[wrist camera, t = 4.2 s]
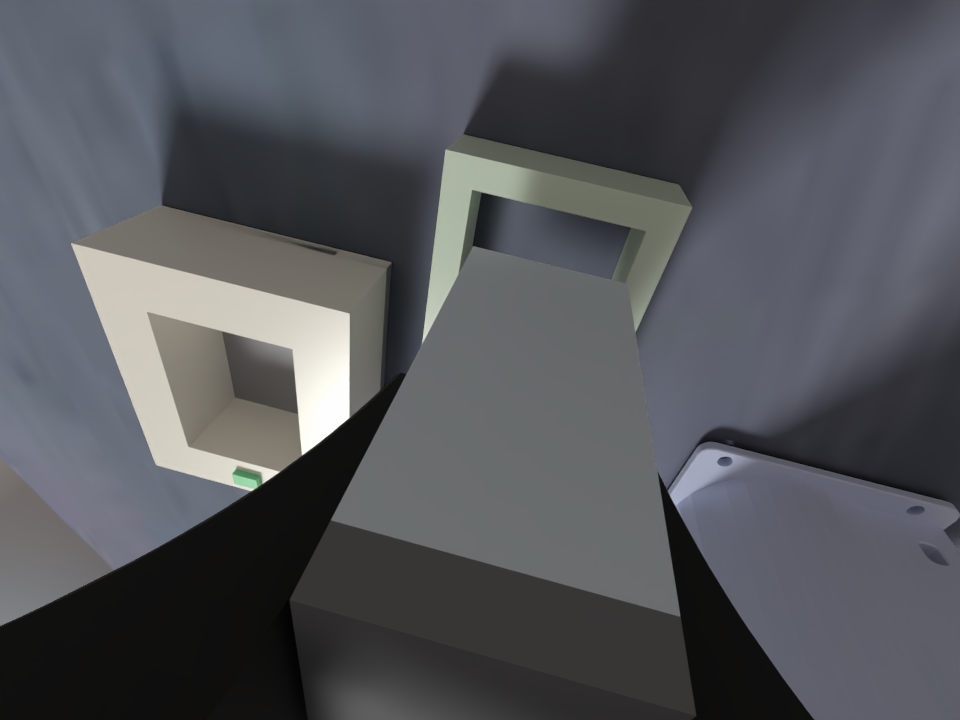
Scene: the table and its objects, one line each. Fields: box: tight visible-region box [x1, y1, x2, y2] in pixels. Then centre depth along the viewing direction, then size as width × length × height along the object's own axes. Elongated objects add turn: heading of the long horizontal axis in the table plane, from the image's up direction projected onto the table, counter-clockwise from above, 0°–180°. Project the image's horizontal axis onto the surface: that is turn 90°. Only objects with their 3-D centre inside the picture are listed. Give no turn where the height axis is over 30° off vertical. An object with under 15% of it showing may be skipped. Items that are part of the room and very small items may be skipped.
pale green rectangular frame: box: [422, 134, 692, 344], centre depth 14 cm, size 6×8×2 cm
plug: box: [290, 246, 696, 720], centre depth 9 cm, size 4×5×8 cm
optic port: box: [71, 205, 392, 491], centre depth 17 cm, size 8×10×4 cm
